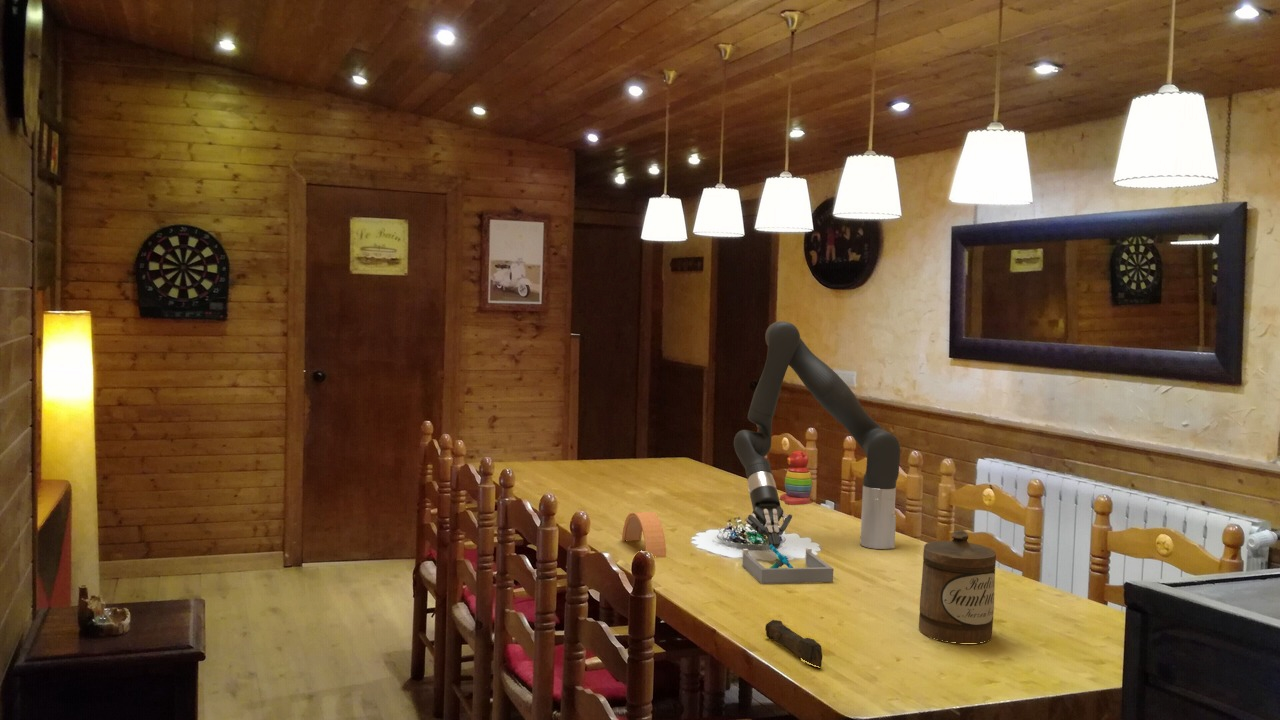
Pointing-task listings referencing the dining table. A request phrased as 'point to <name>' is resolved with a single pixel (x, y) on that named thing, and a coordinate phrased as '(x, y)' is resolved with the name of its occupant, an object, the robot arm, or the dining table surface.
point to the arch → (646, 532)
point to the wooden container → (957, 590)
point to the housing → (789, 570)
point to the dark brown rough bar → (795, 642)
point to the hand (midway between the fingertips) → (775, 547)
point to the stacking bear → (797, 480)
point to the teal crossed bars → (779, 559)
